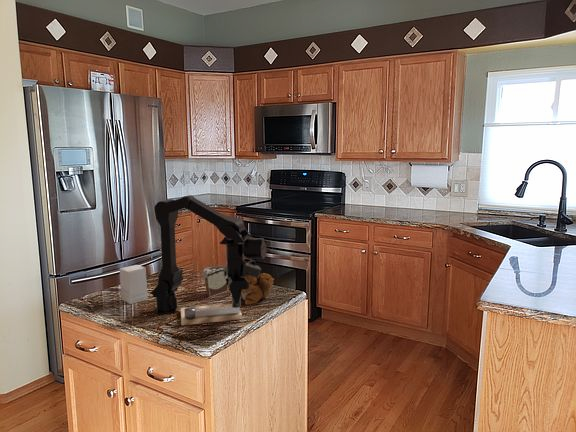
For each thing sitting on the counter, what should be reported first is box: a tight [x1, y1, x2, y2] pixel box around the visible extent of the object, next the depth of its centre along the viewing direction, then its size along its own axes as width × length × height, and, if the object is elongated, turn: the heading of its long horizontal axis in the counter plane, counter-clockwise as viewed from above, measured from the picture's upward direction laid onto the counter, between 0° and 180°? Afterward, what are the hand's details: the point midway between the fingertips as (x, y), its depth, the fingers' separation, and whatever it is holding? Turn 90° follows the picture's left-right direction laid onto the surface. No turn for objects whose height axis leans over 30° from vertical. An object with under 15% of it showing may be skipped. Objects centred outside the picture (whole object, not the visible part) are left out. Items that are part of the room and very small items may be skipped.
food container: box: [201, 265, 229, 298], centre depth 177 cm, size 12×6×10 cm, turn 141°
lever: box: [184, 296, 242, 319], centre depth 150 cm, size 19×4×8 cm, turn 104°
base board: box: [180, 302, 243, 326], centre depth 154 cm, size 20×12×2 cm, turn 104°
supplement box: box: [119, 264, 149, 305], centre depth 170 cm, size 7×7×13 cm
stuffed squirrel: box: [241, 272, 275, 306], centre depth 169 cm, size 10×14×13 cm
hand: (236, 301), depth 152 cm, fingers closed on lever, 3 cm apart
